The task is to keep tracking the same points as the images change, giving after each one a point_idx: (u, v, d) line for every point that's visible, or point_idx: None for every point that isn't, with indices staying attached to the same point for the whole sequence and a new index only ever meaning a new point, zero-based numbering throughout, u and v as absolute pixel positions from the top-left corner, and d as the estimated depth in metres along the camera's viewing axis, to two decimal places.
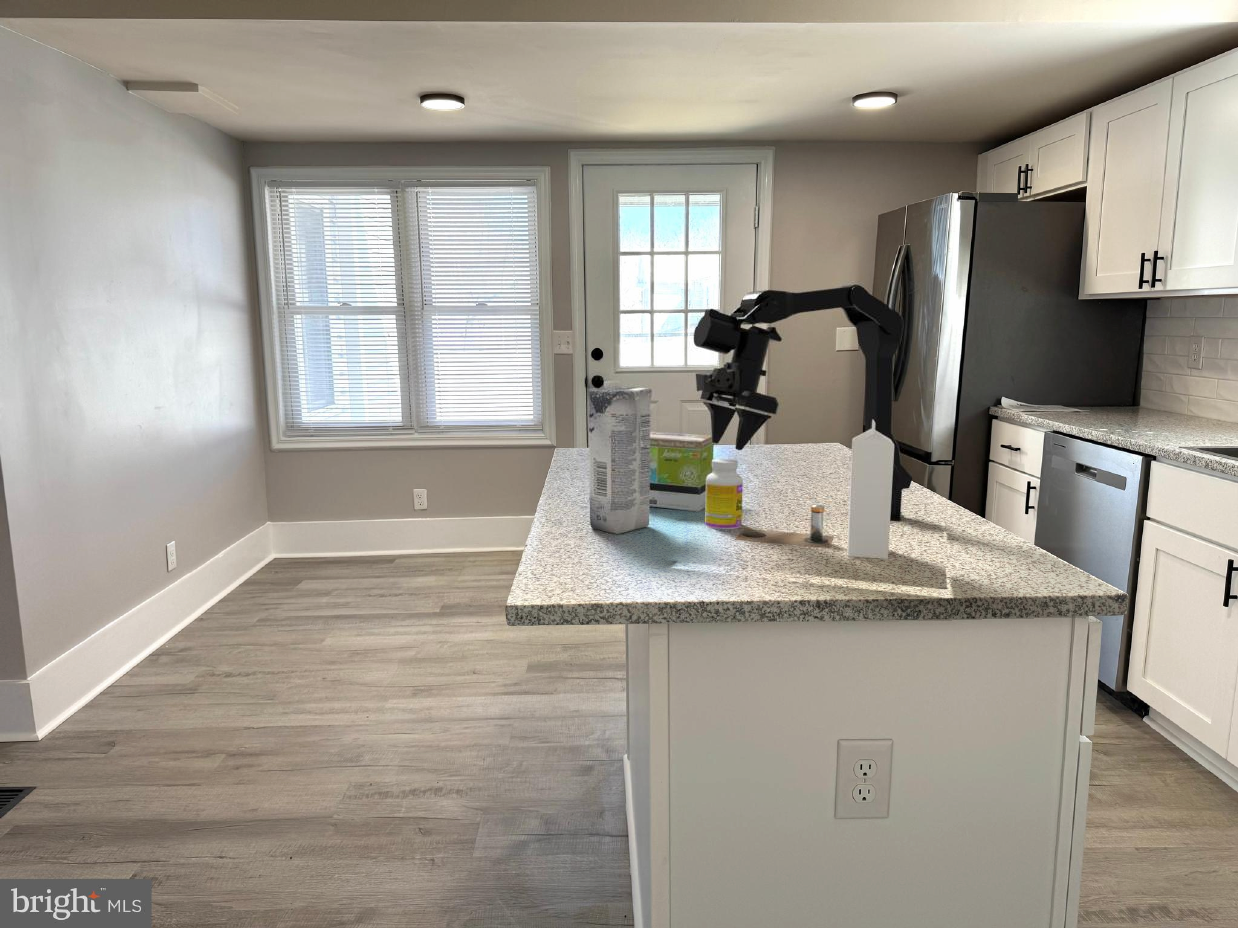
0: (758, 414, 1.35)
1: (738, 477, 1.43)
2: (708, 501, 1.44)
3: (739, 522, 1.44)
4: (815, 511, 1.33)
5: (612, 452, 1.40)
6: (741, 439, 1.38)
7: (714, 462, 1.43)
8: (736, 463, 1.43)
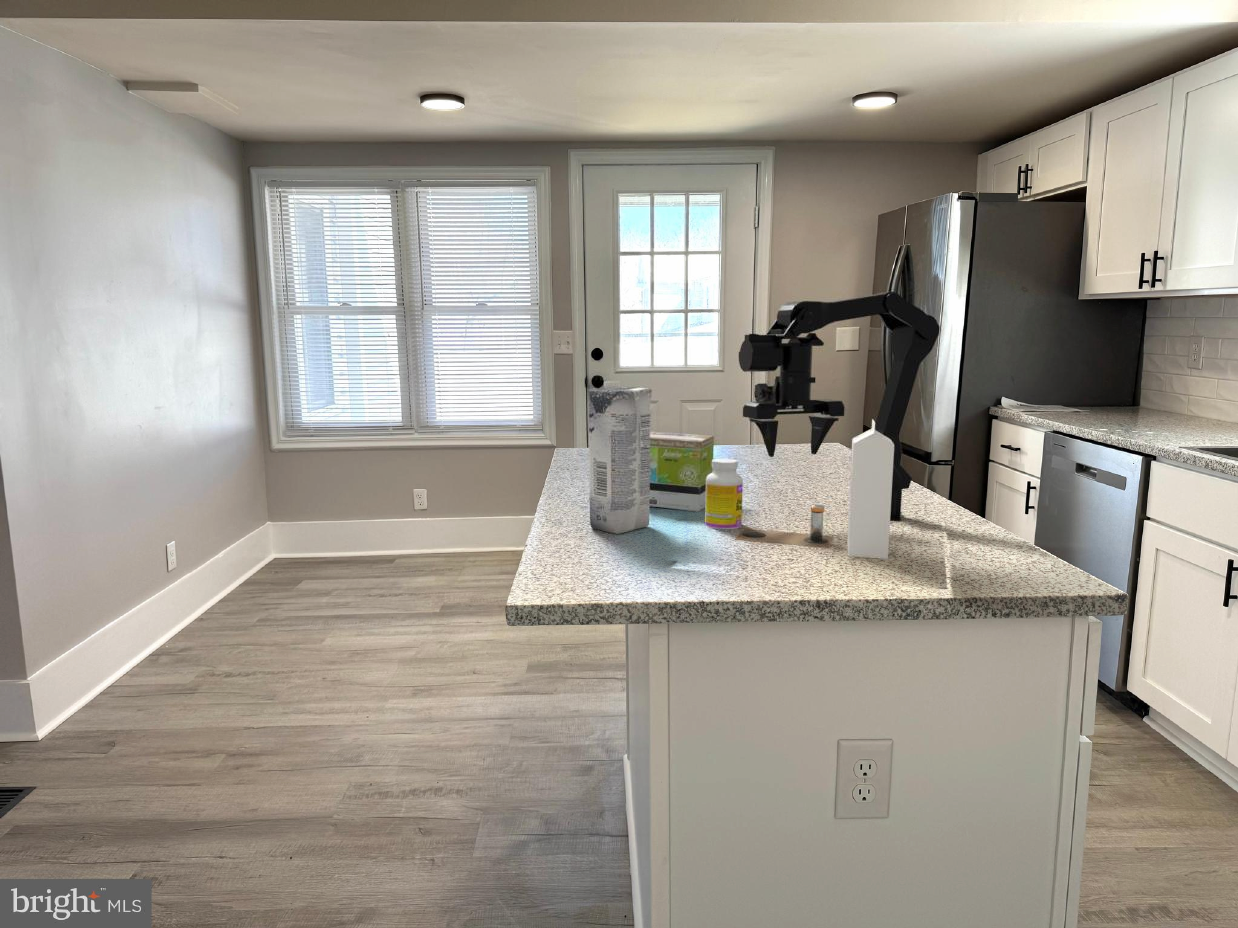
0: (756, 421, 1.45)
1: (738, 477, 1.43)
2: (708, 501, 1.44)
3: (739, 522, 1.44)
4: (815, 511, 1.33)
5: (612, 452, 1.40)
6: (766, 446, 1.48)
7: (714, 462, 1.43)
8: (736, 463, 1.43)
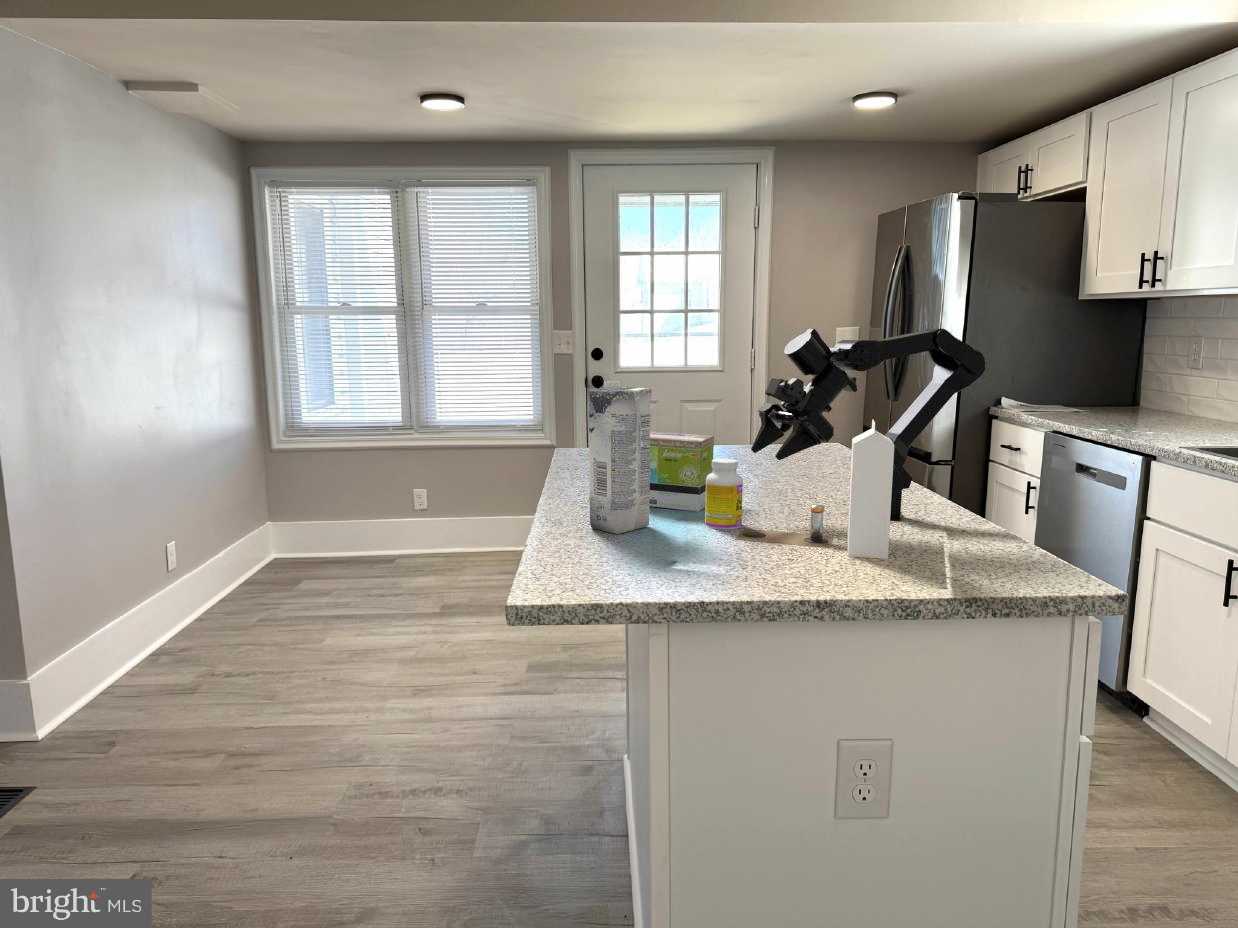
0: (812, 434, 1.40)
1: (738, 477, 1.43)
2: (708, 501, 1.44)
3: (739, 522, 1.44)
4: (815, 511, 1.33)
5: (612, 452, 1.40)
6: (784, 449, 1.42)
7: (714, 462, 1.43)
8: (736, 463, 1.43)
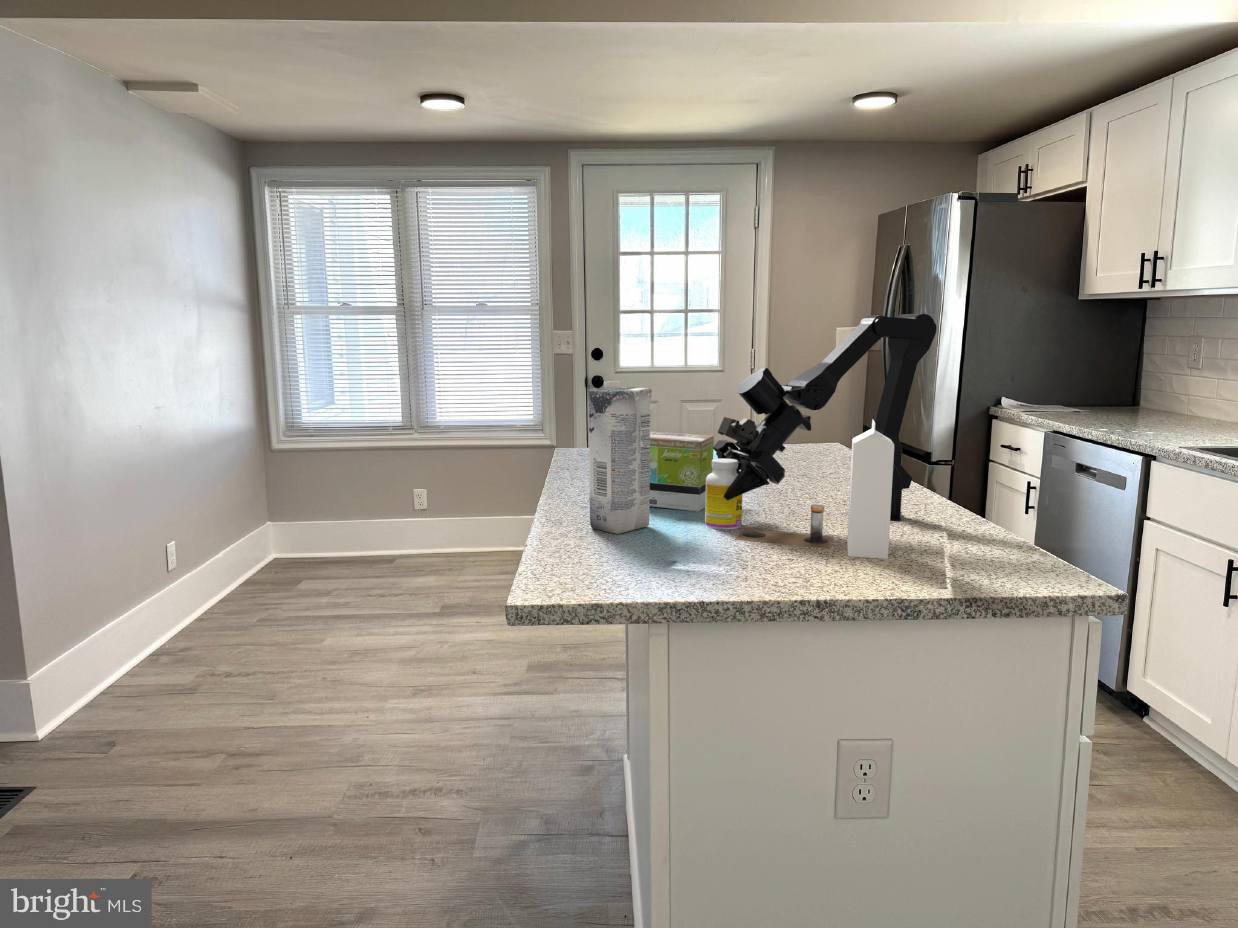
0: (759, 474, 1.39)
1: None
2: (708, 501, 1.44)
3: (739, 522, 1.44)
4: (815, 511, 1.33)
5: (612, 452, 1.40)
6: (732, 489, 1.41)
7: (714, 462, 1.43)
8: (736, 463, 1.43)
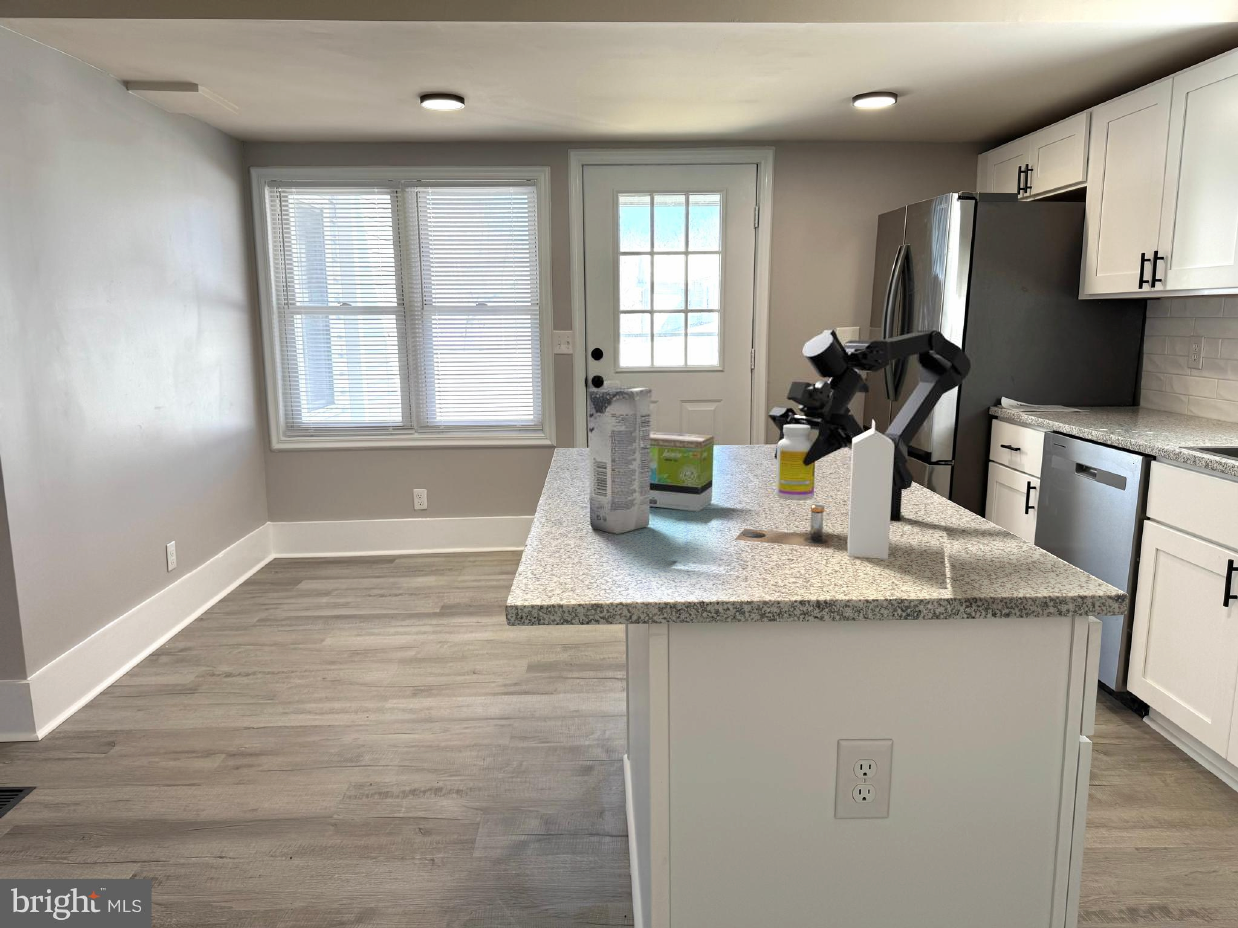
0: (840, 437, 1.37)
1: (813, 442, 1.40)
2: (784, 469, 1.40)
3: (813, 488, 1.41)
4: (815, 511, 1.33)
5: (612, 451, 1.40)
6: (812, 454, 1.38)
7: (789, 428, 1.39)
8: (810, 428, 1.40)
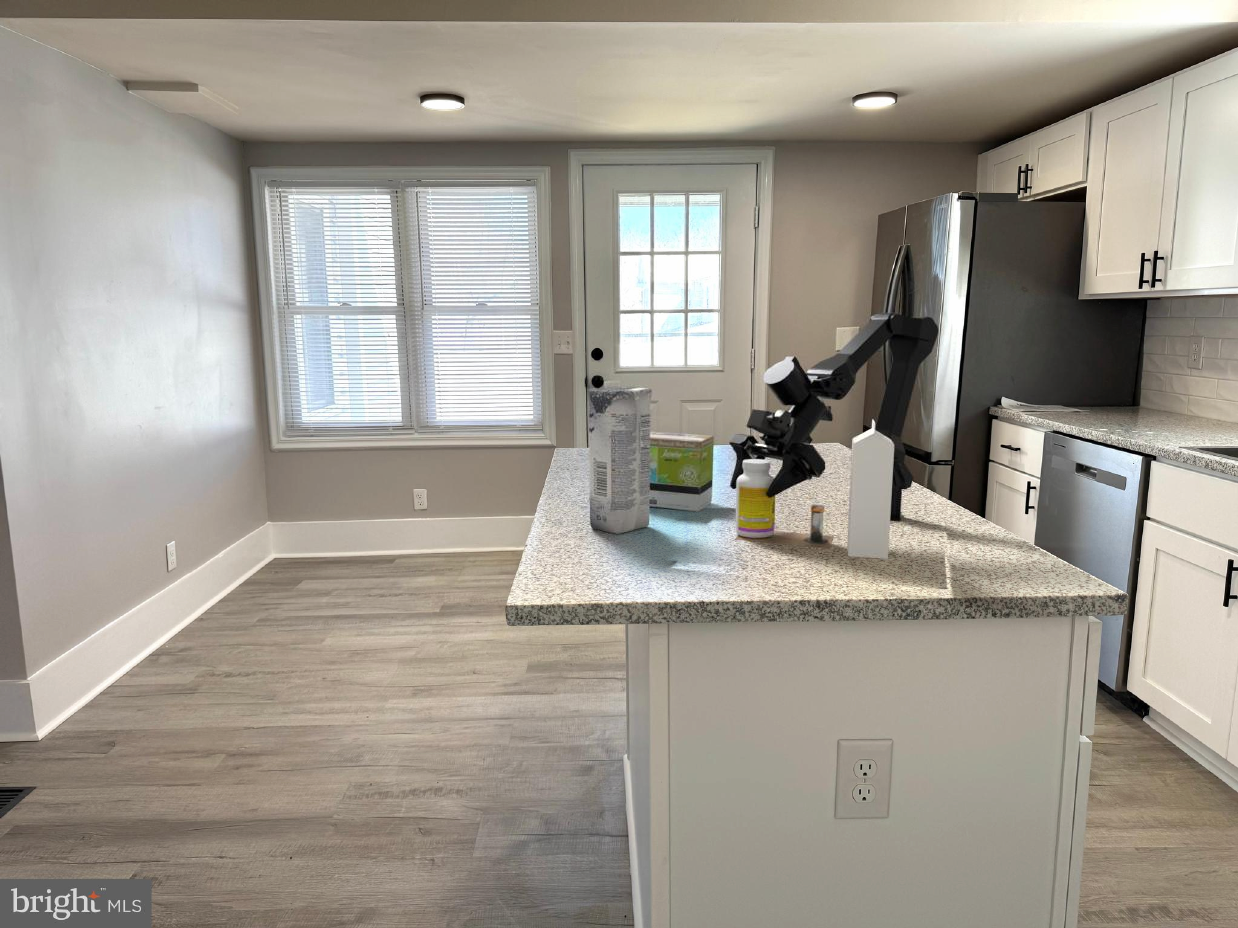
0: (804, 469, 1.32)
1: (772, 478, 1.36)
2: (743, 505, 1.35)
3: (774, 525, 1.37)
4: (815, 511, 1.33)
5: (612, 451, 1.40)
6: (775, 486, 1.32)
7: (748, 463, 1.35)
8: None
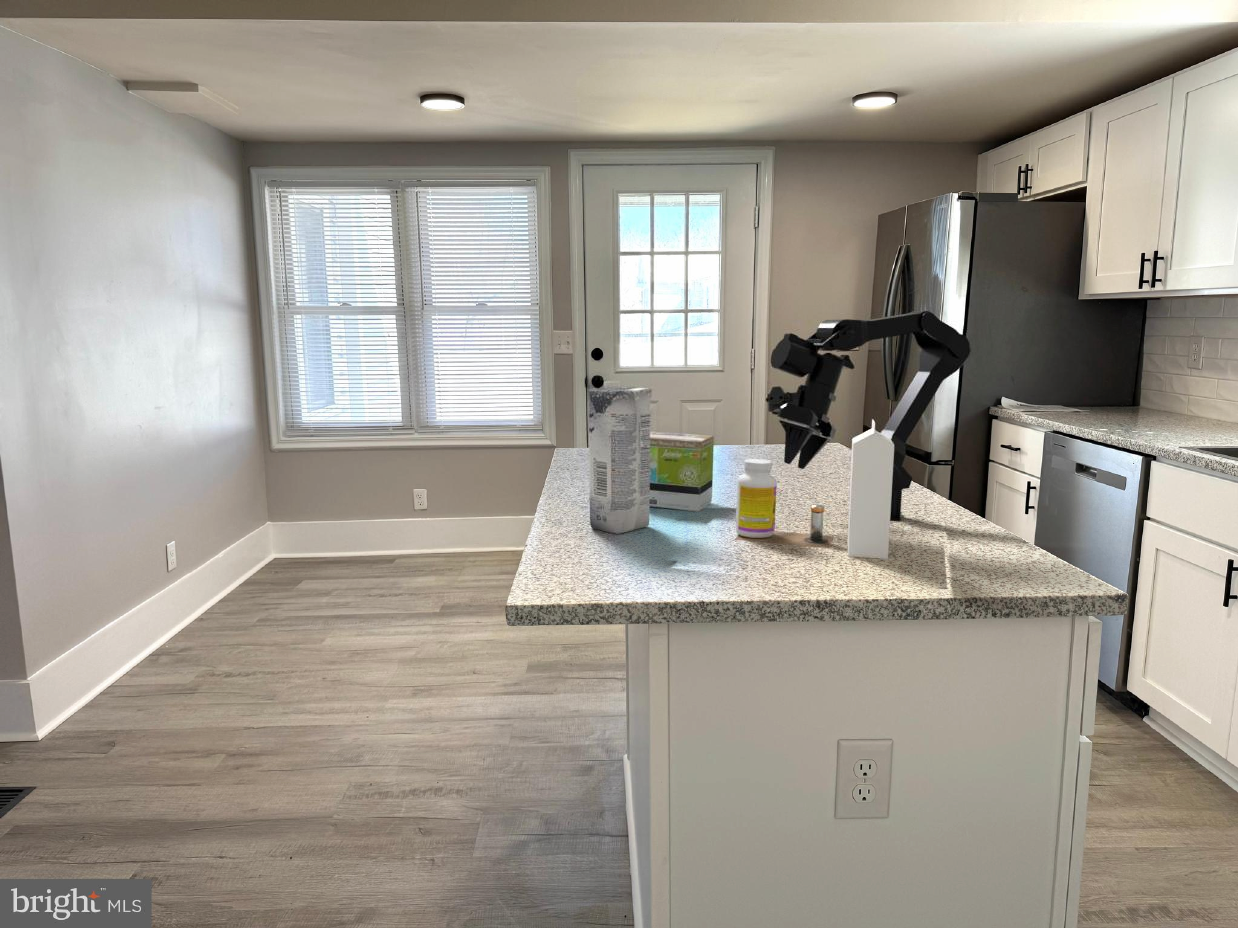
0: (794, 425, 1.41)
1: (774, 478, 1.36)
2: (743, 505, 1.35)
3: (774, 525, 1.37)
4: (815, 511, 1.33)
5: (612, 451, 1.40)
6: (787, 452, 1.44)
7: (750, 463, 1.35)
8: (771, 463, 1.36)
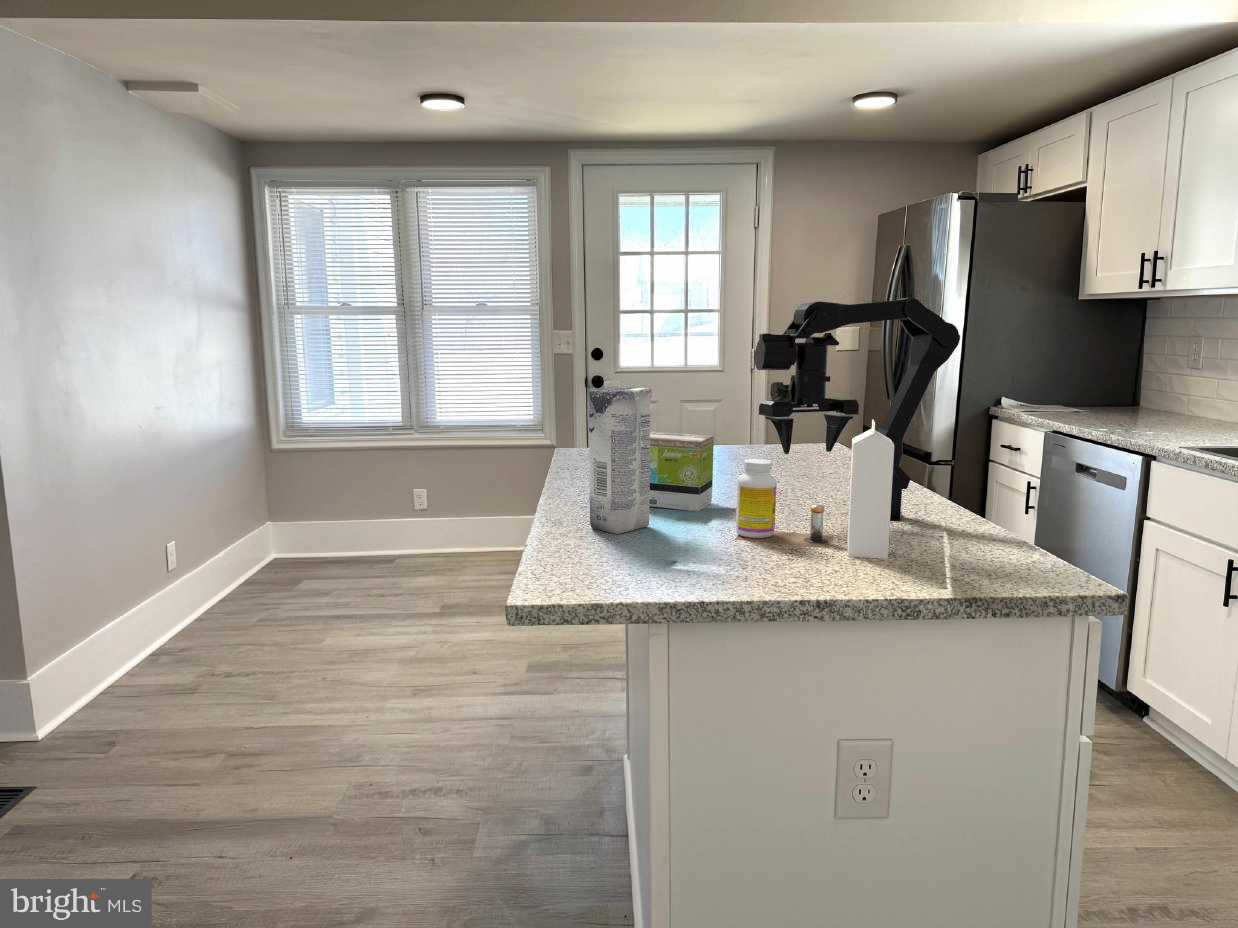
0: (772, 419, 1.49)
1: (773, 478, 1.36)
2: (743, 505, 1.35)
3: (774, 525, 1.37)
4: (815, 511, 1.33)
5: (612, 452, 1.40)
6: (782, 443, 1.51)
7: (749, 463, 1.35)
8: (771, 464, 1.36)
